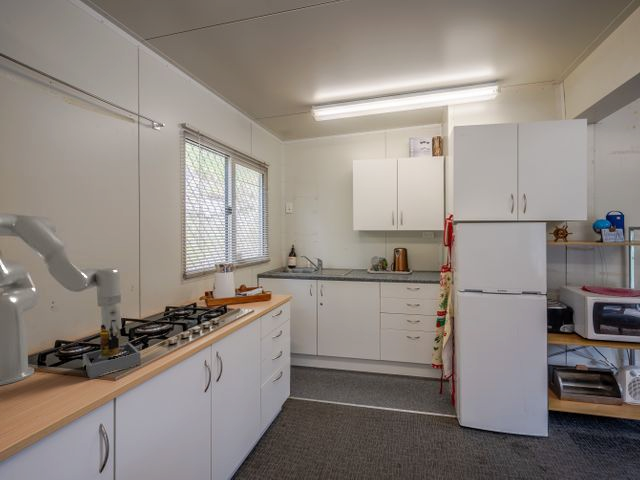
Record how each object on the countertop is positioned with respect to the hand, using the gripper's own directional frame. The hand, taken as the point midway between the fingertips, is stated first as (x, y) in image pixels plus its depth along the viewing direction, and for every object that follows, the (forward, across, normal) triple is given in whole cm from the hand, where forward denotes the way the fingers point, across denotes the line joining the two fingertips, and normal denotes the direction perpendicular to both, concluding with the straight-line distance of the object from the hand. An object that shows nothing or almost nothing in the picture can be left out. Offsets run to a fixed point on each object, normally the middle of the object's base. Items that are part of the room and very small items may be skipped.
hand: (111, 345), depth 120 cm
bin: (+8, 0, 0) cm, 8 cm away
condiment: (+3, +1, 0) cm, 3 cm away
